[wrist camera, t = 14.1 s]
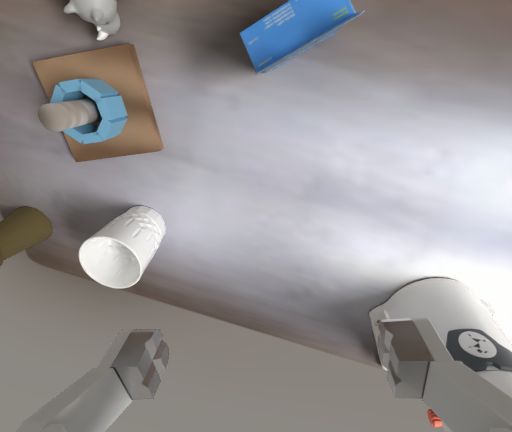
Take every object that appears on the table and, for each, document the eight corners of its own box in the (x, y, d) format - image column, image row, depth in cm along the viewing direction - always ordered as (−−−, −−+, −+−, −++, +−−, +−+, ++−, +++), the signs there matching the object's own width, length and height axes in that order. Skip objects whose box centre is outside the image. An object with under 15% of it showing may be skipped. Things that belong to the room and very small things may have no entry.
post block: (163, 148, 37) (129, 169, 29) (83, 159, 39) (28, 182, 31) (133, 45, 32) (81, 34, 24) (41, 62, 34) (-38, 58, 25)
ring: (114, 75, 32) (96, 75, 29) (133, 133, 35) (118, 139, 32) (63, 84, 33) (40, 85, 30) (86, 139, 36) (67, 146, 33)
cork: (55, 218, 44) (-9, 259, 34) (48, 245, 47) (-13, 290, 37) (17, 199, 43) (-61, 236, 33) (12, 228, 46) (-61, 270, 36)
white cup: (160, 198, 41) (127, 233, 32) (176, 243, 44) (150, 286, 36) (112, 205, 42) (67, 240, 33) (130, 248, 46) (94, 290, 37)
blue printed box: (323, -7, 29) (349, -57, 18) (336, 33, 30) (368, 9, 19) (247, 41, 31) (230, 23, 20) (263, 75, 33) (255, 76, 22)
